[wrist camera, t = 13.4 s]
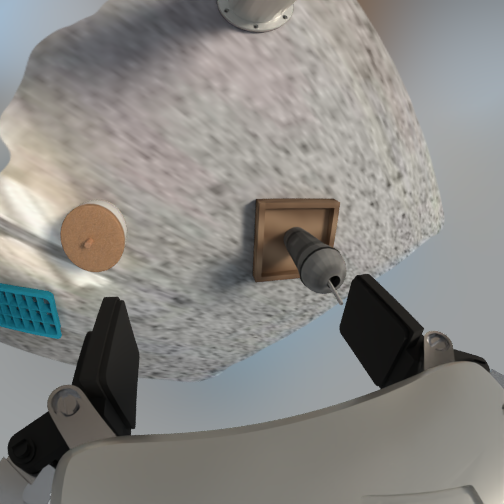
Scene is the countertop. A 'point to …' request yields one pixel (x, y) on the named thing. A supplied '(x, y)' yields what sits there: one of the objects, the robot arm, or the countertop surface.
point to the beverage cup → (316, 262)
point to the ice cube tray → (3, 313)
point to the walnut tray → (278, 223)
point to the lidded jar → (94, 235)
